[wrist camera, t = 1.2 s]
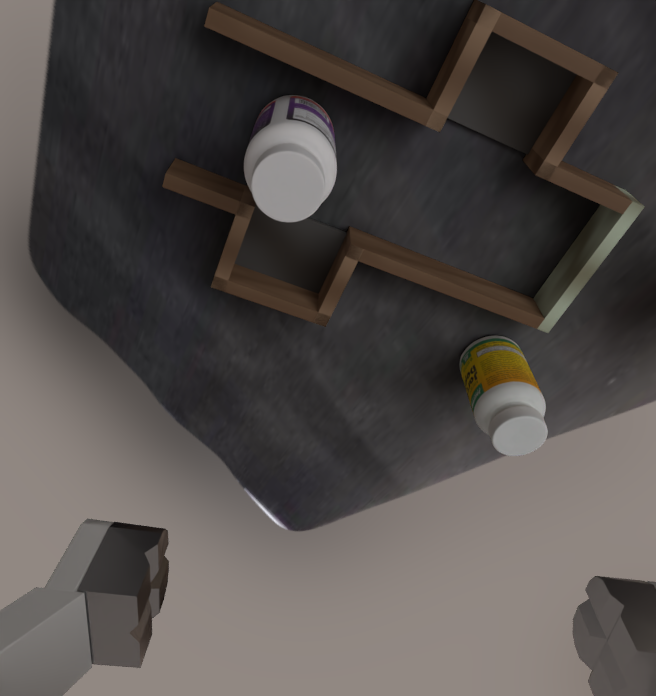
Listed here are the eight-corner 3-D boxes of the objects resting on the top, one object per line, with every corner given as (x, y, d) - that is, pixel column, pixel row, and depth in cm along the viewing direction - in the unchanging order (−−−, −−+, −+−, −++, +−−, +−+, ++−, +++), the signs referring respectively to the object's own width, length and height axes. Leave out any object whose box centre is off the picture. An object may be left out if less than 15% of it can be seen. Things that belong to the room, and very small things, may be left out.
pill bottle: (269, 184, 41) (256, 245, 33) (242, 106, 38) (221, 153, 30) (344, 163, 40) (349, 220, 33) (322, 82, 37) (322, 123, 29)
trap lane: (249, -118, 32) (243, -122, 29) (686, 108, 38) (710, 120, 36) (152, 244, 44) (142, 263, 41) (496, 366, 51) (505, 388, 48)
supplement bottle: (520, 378, 52) (555, 459, 44) (459, 386, 52) (483, 468, 44) (522, 328, 48) (560, 405, 41) (456, 337, 49) (481, 415, 41)
